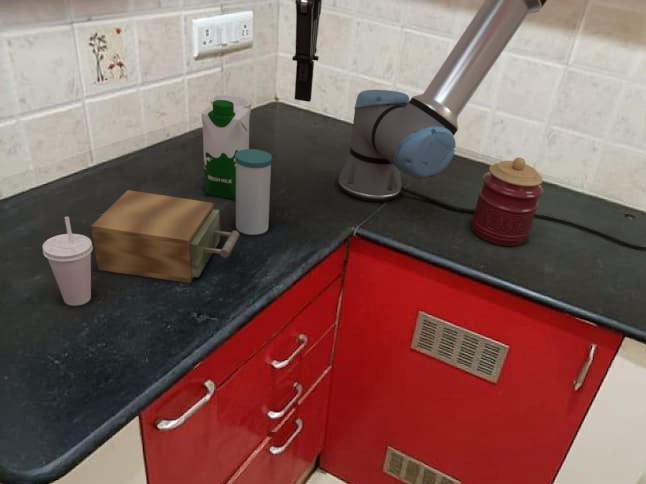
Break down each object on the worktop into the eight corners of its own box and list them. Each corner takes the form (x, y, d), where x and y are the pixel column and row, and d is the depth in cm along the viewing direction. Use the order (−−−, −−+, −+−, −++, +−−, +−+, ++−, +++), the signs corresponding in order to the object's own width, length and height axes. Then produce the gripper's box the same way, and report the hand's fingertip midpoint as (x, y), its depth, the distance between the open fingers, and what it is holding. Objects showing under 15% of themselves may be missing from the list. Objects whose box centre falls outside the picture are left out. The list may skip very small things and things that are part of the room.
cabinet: (214, 242, 104) (213, 202, 99) (190, 283, 92) (188, 240, 88) (132, 230, 103) (127, 189, 99) (97, 269, 92) (90, 225, 87)
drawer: (243, 244, 103) (243, 213, 100) (224, 281, 93) (224, 248, 89) (143, 229, 102) (140, 198, 99) (113, 265, 92) (108, 231, 88)
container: (272, 221, 114) (275, 152, 106) (265, 237, 108) (268, 165, 100) (239, 216, 114) (240, 146, 105) (230, 232, 108) (230, 159, 100)
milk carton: (200, 196, 119) (196, 102, 108) (214, 179, 126) (212, 90, 115) (240, 203, 118) (241, 110, 107) (252, 186, 126) (254, 97, 115)
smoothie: (98, 309, 84) (84, 228, 76) (50, 312, 82) (31, 229, 74) (102, 285, 89) (90, 206, 81) (57, 287, 87) (40, 206, 79)
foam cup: (214, 143, 144) (213, 92, 136) (251, 147, 145) (252, 97, 138) (209, 157, 136) (208, 104, 129) (248, 161, 137) (249, 109, 130)
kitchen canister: (479, 213, 132) (499, 141, 122) (532, 230, 128) (557, 158, 118) (462, 234, 121) (482, 157, 112) (519, 253, 118) (545, 176, 108)
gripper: (296, -62, 90) (288, 86, 103) (281, -59, 79) (274, 106, 92) (342, -54, 90) (328, 93, 103) (333, -50, 79) (319, 113, 92)
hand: (302, 99), depth 98 cm, fingers closed
